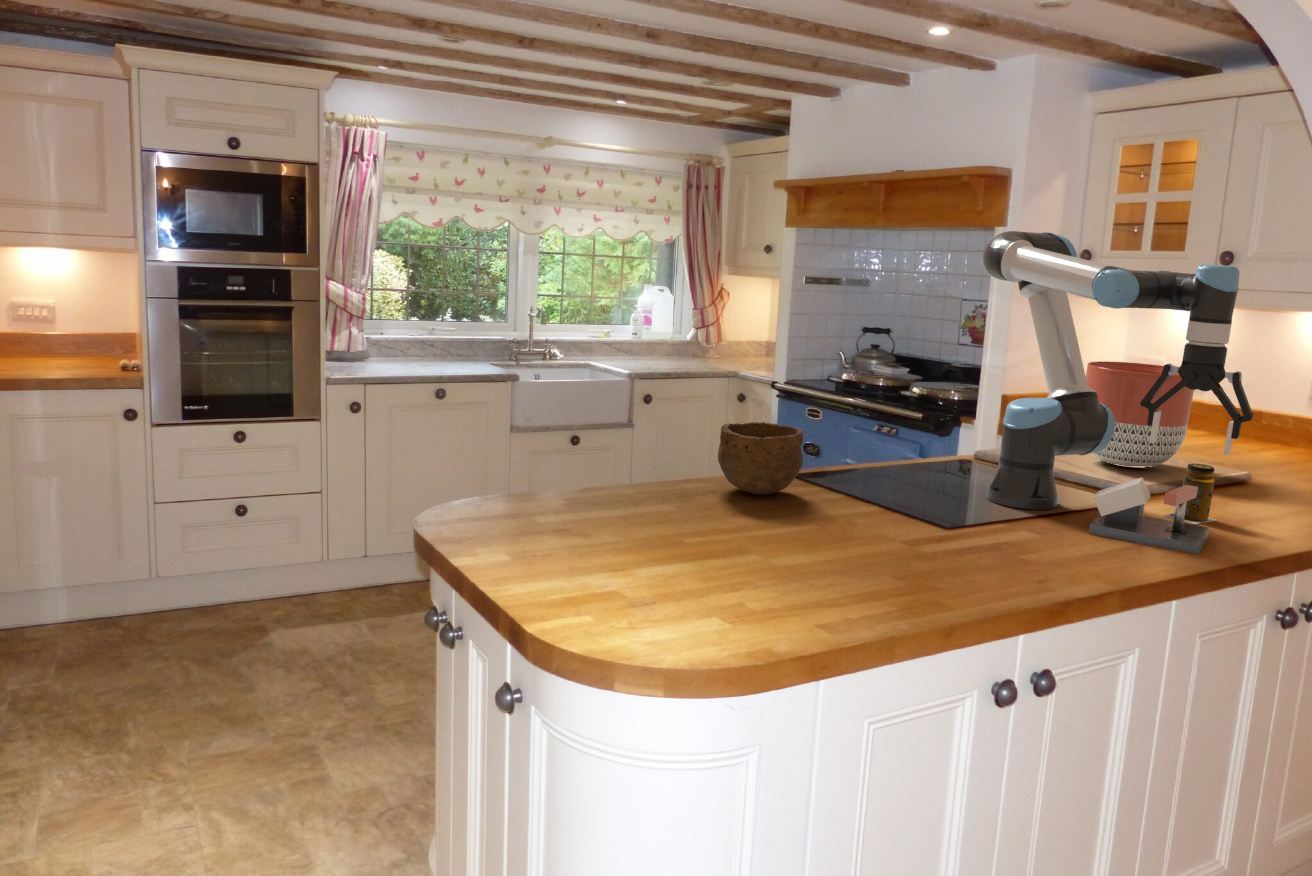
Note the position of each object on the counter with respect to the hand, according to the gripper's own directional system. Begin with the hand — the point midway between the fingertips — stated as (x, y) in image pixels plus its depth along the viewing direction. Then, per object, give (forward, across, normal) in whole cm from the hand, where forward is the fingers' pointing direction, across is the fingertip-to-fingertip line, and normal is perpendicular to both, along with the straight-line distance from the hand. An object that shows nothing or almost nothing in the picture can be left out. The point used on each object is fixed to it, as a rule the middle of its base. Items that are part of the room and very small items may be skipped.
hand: (1189, 448), depth 204 cm
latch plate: (+18, +4, +4) cm, 19 cm away
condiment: (+19, +1, -18) cm, 26 cm away
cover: (+13, +9, +5) cm, 17 cm away
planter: (+19, +26, -67) cm, 74 cm away
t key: (+16, -1, +4) cm, 17 cm away
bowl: (+19, +78, +38) cm, 89 cm away
